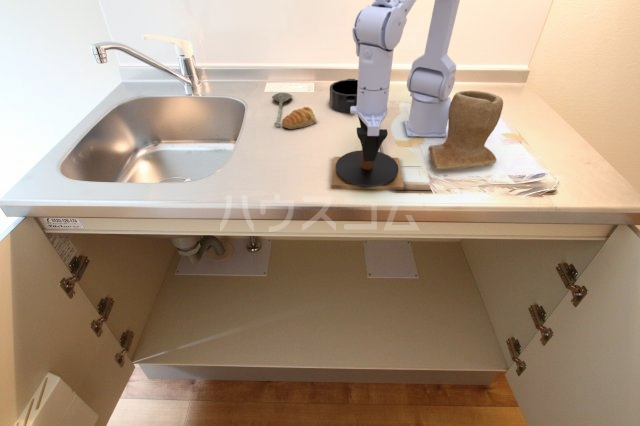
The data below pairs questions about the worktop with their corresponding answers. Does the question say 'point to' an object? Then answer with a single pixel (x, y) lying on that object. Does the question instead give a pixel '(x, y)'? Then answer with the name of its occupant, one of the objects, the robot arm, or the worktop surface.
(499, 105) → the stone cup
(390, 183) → the board
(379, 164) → the lid
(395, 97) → the worktop surface
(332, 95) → the pot
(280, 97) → the soupspoon
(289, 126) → the pastry
